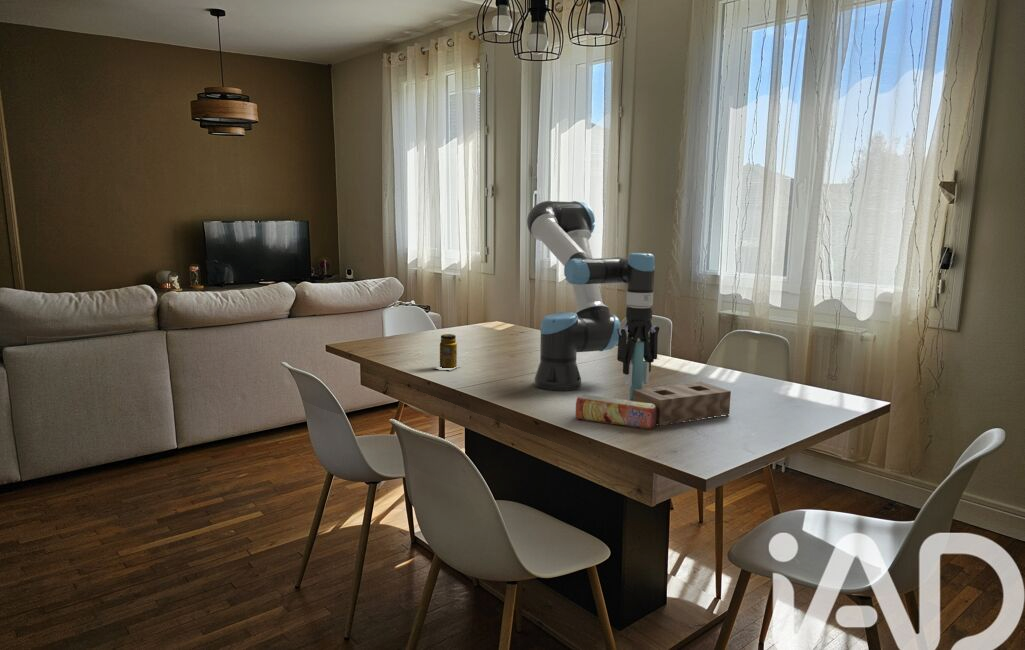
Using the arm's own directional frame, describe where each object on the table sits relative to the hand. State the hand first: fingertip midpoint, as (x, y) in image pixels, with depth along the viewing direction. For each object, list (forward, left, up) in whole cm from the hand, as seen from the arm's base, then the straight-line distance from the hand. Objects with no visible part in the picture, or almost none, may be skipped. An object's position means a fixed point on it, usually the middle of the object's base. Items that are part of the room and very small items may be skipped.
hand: (636, 383), depth 202 cm
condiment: (-36, +63, -6) cm, 73 cm away
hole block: (+3, -17, -5) cm, 18 cm away
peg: (0, 0, -5) cm, 5 cm away
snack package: (-18, -15, -6) cm, 24 cm away
